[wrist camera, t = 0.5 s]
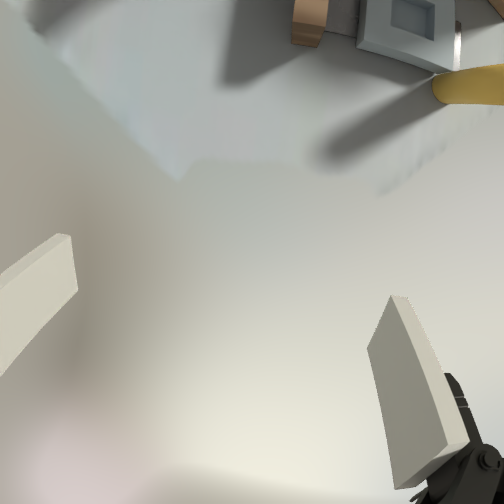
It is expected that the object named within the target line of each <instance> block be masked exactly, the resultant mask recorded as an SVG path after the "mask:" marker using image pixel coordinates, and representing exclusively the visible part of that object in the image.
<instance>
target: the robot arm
mask: <svg viewBox="0 0 504 504" xmlns="http://www.w3.org/2000/svg"><path fill="white" fill-rule="evenodd" d="M77 291H78V286H77V280H76V273H75V267H74V260H73V253H72V244H71V236H69V235H65V234H60V233H57V234H56V235H54V236H53V237H51V238H50V239H48V240H47V241H45V242H44V243H42V244H41V245H40V246H38V247H37V248H35V249H34V250H32V251H31V252H30V253H28V254H27V255H25V256H24V257H23V258H21V259H20V260H19V261H17V262H16V263H15V264H13V265H12V266H11V267H9V268H8V269H7V270H6V271H4V272H3V273H1V274H0V377H1V376H2V374H3V373H4V371H6V369H7V368H8V367H9V366H10V364H11V363H12V362H13V361H14V360H15V359H16V357H17V356H18V355H19V354H20V353H21V351H22V350H23V349H24V348H25V347H26V346H27V345H28V343H29V342H30V341H31V340H32V339H33V338H34V337H35V336H36V334H37V333H38V332H39V331H40V330H41V329H42V327H44V326H45V324H46V323H47V322H48V321H49V320H50V319H51V318H52V317H53V316H54V315H55V314H56V313H57V311H59V309H60V308H61V307H62V306H63V305H64V304H65V303H66V302H67V301H68V300H69V299H70V298H71V297H72V296H73V295H74V294H75V293H76V292H77ZM367 350H368V354H369V358H370V362H371V367H372V371H373V375H374V380H375V384H376V388H377V393H378V398H379V402H380V406H381V412H382V417H383V422H384V427H385V432H386V437H387V443H388V449H389V455H390V461H391V468H392V474H393V482H394V489H395V490H397V489H405V488H412V487H416V486H417V485H419V484H420V483H422V482H423V481H424V480H425V479H426V480H427V485H428V487H426V488H425V489H424V490H422V491H421V492H419V493H418V494H416V495H415V496H413V497H412V498H411V500H410V502H413V501H414V500H416V499H418V500H417V502H416V503H415V504H504V458H502V457H501V455H500V453H499V452H498V450H497V449H496V448H494V447H493V446H491V445H489V444H483V442H482V440H481V437H480V434H479V432H478V429H477V426H476V424H475V421H474V418H473V416H472V413H471V411H470V408H468V403H467V401H466V399H465V398H464V394H463V391H462V389H461V387H460V385H459V383H458V382H457V381H456V380H455V378H454V377H453V376H452V375H451V374H450V373H443V370H442V368H441V366H440V363H439V361H438V359H437V357H436V355H435V352H434V350H433V348H432V346H431V344H430V342H429V340H428V338H427V336H426V333H425V331H424V329H423V327H422V325H421V323H420V321H419V319H418V317H417V315H416V313H415V311H414V309H413V307H412V305H411V304H410V302H409V300H408V298H406V297H400V296H393V295H391V296H390V298H389V301H388V303H387V306H386V308H385V310H384V312H383V315H382V317H381V319H380V321H379V324H378V326H377V328H376V330H375V332H374V334H373V337H372V339H371V341H370V343H369V345H368V347H367Z"/></svg>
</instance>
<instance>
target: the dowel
mask: <svg viewBox="0 0 504 504" xmlns="http://www.w3.org/2000/svg"><path fill="white" fill-rule="evenodd" d="M432 91H433V93H434V95H435V97H436V98H437V99H438V100H439V101H440V102H442V103H445V104H487V105H504V64H497V65H490V66H483V67H476V68H470V69H465V70H459V71H454V72H449V73H444V74H439V75H437V76H435V77H434V79H433V81H432Z"/></svg>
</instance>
